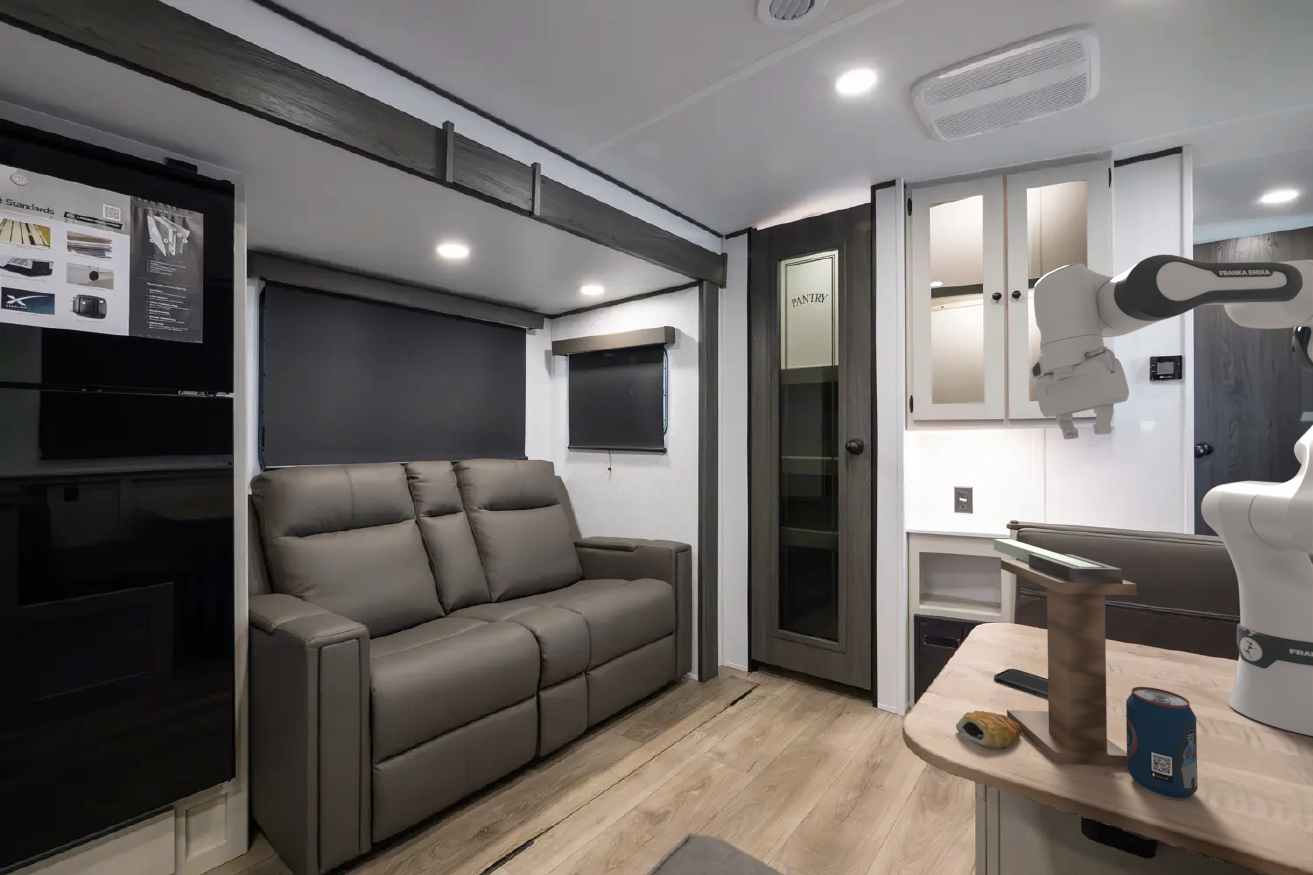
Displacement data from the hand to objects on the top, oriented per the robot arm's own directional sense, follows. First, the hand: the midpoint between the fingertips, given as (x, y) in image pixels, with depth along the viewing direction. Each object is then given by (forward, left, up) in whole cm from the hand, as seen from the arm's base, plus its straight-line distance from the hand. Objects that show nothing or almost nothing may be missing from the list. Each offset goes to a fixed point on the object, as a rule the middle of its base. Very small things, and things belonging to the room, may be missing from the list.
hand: (1086, 436), depth 96 cm
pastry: (+22, +10, -47) cm, 53 cm away
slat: (+11, +5, -21) cm, 24 cm away
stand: (+11, +11, -47) cm, 49 cm away
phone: (+3, -8, -47) cm, 48 cm away
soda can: (+5, +22, -47) cm, 52 cm away
